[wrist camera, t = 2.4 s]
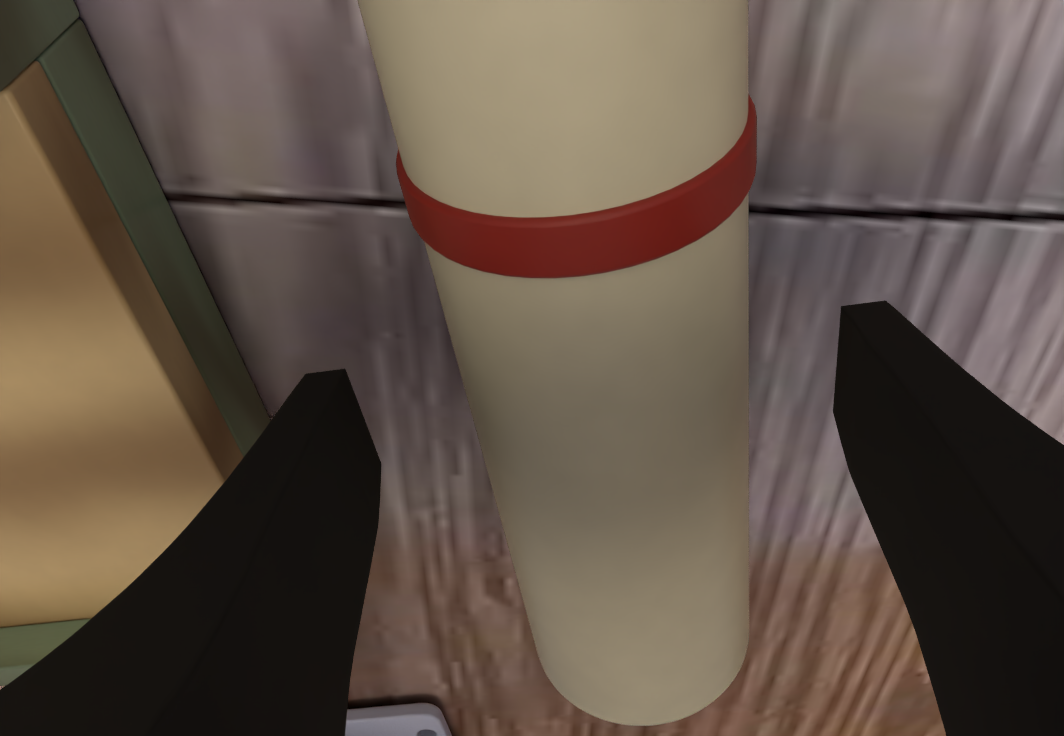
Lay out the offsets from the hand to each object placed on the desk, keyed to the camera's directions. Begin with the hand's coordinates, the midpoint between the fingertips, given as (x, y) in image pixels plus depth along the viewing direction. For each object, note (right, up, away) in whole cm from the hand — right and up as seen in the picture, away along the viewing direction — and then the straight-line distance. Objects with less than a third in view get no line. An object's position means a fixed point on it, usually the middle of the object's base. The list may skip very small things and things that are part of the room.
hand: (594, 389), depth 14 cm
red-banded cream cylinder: (0, +2, +2) cm, 3 cm away
